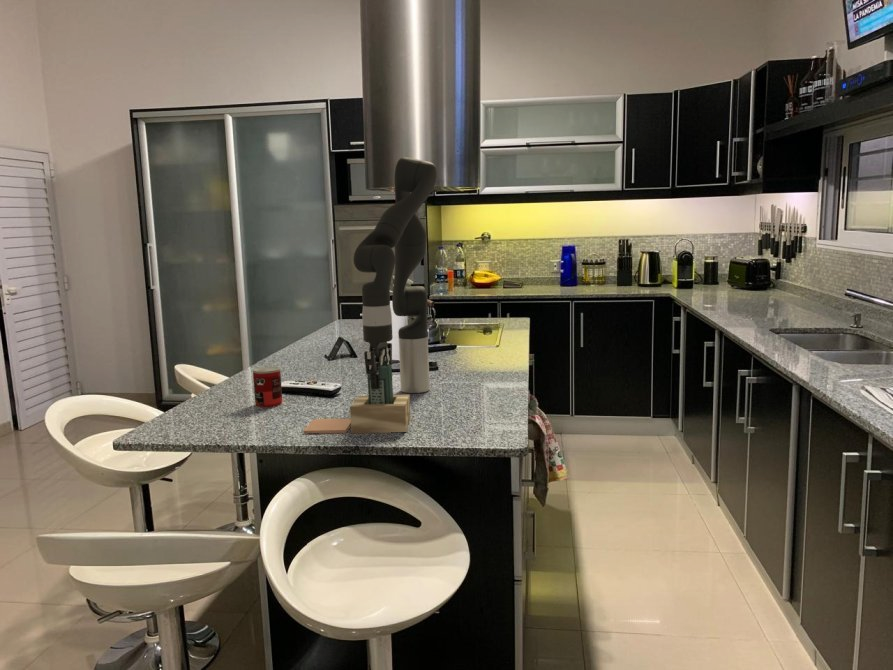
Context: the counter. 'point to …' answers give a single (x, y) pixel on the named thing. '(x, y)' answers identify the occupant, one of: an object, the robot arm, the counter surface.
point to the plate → (328, 426)
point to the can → (382, 387)
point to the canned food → (267, 386)
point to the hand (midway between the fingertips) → (380, 385)
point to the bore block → (380, 415)
